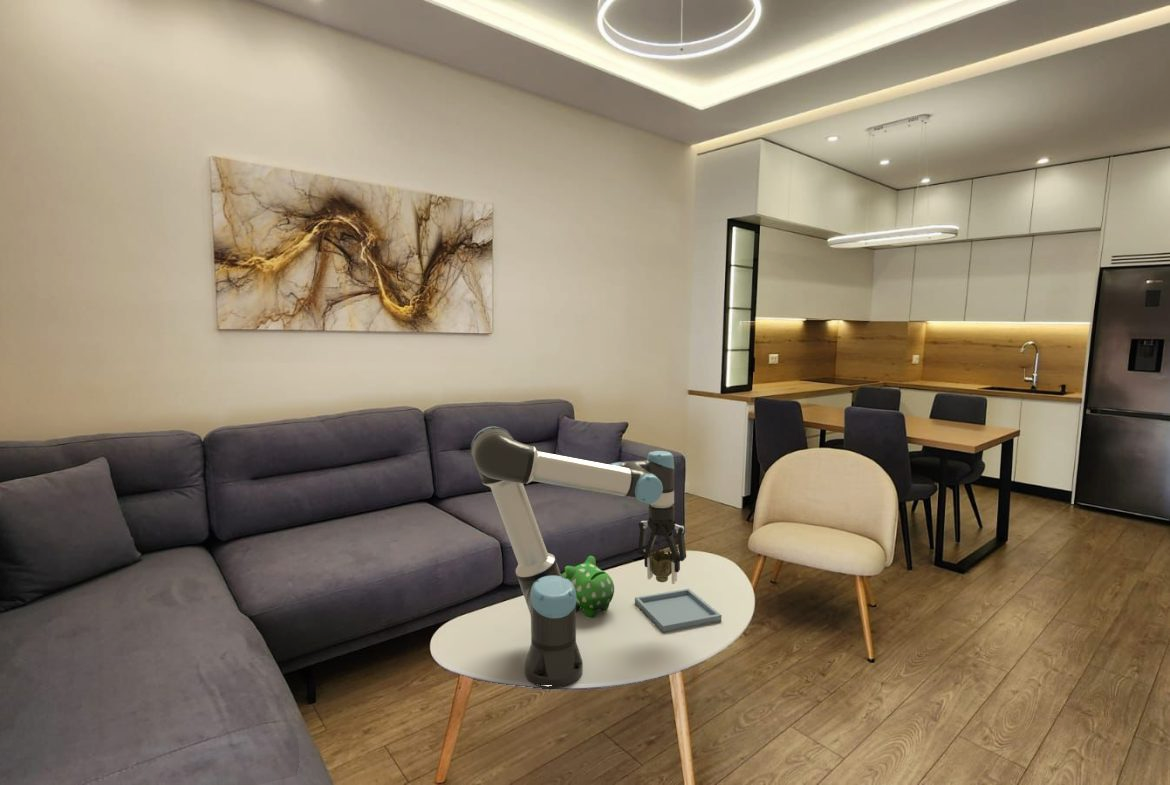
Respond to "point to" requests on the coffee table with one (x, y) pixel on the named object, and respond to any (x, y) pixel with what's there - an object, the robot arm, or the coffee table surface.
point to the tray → (677, 610)
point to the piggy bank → (590, 587)
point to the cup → (661, 565)
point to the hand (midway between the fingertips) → (662, 579)
